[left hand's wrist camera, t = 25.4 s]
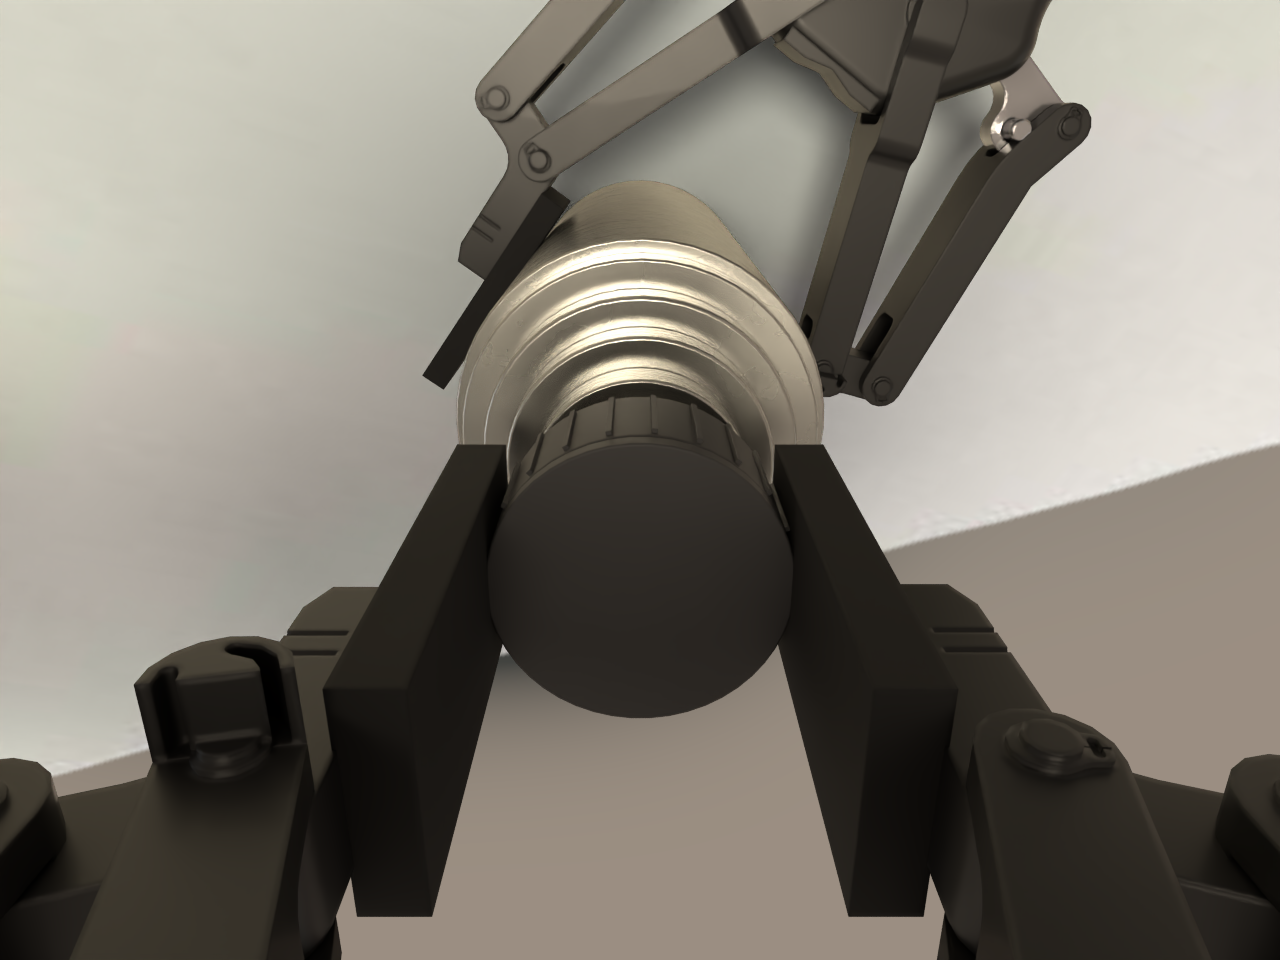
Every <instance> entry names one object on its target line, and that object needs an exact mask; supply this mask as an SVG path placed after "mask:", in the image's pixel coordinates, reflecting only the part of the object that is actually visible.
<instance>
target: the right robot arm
mask: <svg viewBox="0 0 1280 960" xmlns="http://www.w3.org/2000/svg"><path fill="white" fill-rule="evenodd" d="M624 1H625V0H550V1H549V2H548V3H547V4H546V6H545V7H544V8H543V9H542V10H541V11H540V13H539V14H538V15H537V16H536V17H535V18H534V20H533V21H532V22H531V23H530V24H529V25H528V27H527V28H526V29H525V30H524V31H523V32H522V34H521V35H520V36H519V37H518V38H517V39H516V41H515V42H514V43H513V44H512V45H511V46H510V48H509V49H508V50H507V51H506V52H505V53H504V55H503V56H502V57H501V58H500V59H499V60H498V62H497V63H496V64H495V65H494V66H493V67H492V69H491V70H490V71H489V72H488V73H487V74H486V76H485V77H484V78H483V79H482V80H481V81H480V83H479V85H478V87H477V89H476V94H475V101H476V105H477V108H478V109H479V111H480V112H481V114H482V115H483V116H484V117H486V118H487V119H488V121H489V122H490V123H491V125H492V126H493V128H494V129H495V131H496V132H497V134H498V135H499V137H500V138H501V139H502V141H503V143H504V145H505V146H506V149H507V153H508V167H507V170H506V172H505V175H504V176H503V178H502V180H501V181H500V183H499V184H498V186H497V187H496V189H495V191H494V192H493V194H492V195H491V197H490V198H489V200H488V202H487V203H486V205H485V206H484V208H483V209H482V211H481V213H480V214H479V216H478V217H477V219H476V220H475V222H474V224H473V225H472V227H471V228H470V230H469V232H468V233H467V235H466V236H465V238H464V239H463V241H462V243H461V247H460V252H459V258H458V262H460V263H461V264H462V265H464V266H465V267H467V268H468V269H470V270H471V271H472V272H474V273H475V274H477V275H478V276H480V277H481V278H483V279H484V282H483V284H482V285H481V287H480V288H479V290H478V291H477V293H476V294H475V296H474V297H473V299H472V300H471V302H470V303H469V305H468V306H467V308H466V310H465V311H464V313H463V314H462V316H461V317H460V319H459V320H458V322H457V323H456V325H455V326H454V328H453V329H452V331H451V332H450V334H449V336H448V337H447V339H446V340H445V342H444V343H443V345H442V346H441V348H440V349H439V351H438V352H437V354H436V355H435V357H434V358H433V360H432V362H431V363H430V365H429V366H428V368H427V369H426V371H425V372H424V374H423V375H422V376H424V377H425V378H427V379H428V380H430V381H431V382H433V383H434V384H436V385H437V386H439V387H440V388H442V389H443V390H444V388H445V387H446V386H447V384H448V383H449V381H450V380H451V379H452V377H453V376H454V374H455V373H456V372H457V370H458V369H459V367H460V366H461V364H462V363H463V361H464V360H465V358H466V355H467V353H468V351H469V348H470V346H471V344H472V342H473V339H474V337H475V335H476V333H477V331H478V330H479V328H480V327H481V325H482V323H483V322H484V320H485V319H486V317H487V315H488V314H489V312H490V311H491V310H492V308H493V307H494V306H495V304H496V303H497V302H498V300H499V299H500V298H501V297H502V295H503V294H504V293H505V291H506V290H507V289H508V287H509V286H510V285H511V283H512V282H513V281H514V279H515V278H516V277H517V275H518V274H519V273H520V272H521V270H522V269H523V268H524V266H525V265H526V264H527V262H528V261H529V260H530V258H531V257H532V256H533V254H534V253H535V252H536V251H537V249H538V248H539V247H540V245H541V244H542V243H543V241H544V240H545V238H546V237H547V235H548V234H549V232H550V231H551V230H552V228H553V227H554V225H555V224H556V222H557V221H558V219H559V218H560V216H561V215H562V213H563V212H564V210H565V209H566V207H567V206H568V204H569V203H570V200H569V199H567V198H566V197H564V196H563V195H562V194H560V193H559V192H558V191H556V190H555V189H554V188H552V187H551V186H552V184H553V183H554V181H555V180H556V178H557V176H558V175H559V174H560V173H561V172H563V171H565V170H566V169H568V168H569V167H571V166H572V165H574V164H575V163H577V162H578V161H580V160H581V159H583V158H584V157H586V156H587V155H589V154H591V153H592V152H594V151H595V150H597V149H598V148H600V147H601V146H603V145H604V144H606V143H607V142H609V141H610V140H612V139H614V138H615V137H617V136H618V135H620V134H621V133H623V132H624V131H626V130H627V129H629V128H630V127H632V126H633V125H635V124H636V123H638V122H640V121H641V120H643V119H644V118H646V117H647V116H649V115H650V114H652V113H653V112H655V111H656V110H658V109H659V108H661V107H663V106H664V105H666V104H667V103H669V102H670V101H672V100H673V99H675V98H676V97H678V96H679V95H681V94H682V93H684V92H686V91H687V90H689V89H690V88H692V87H693V86H695V85H696V84H698V83H699V82H701V81H702V80H704V79H705V78H707V77H708V76H710V75H712V74H713V73H715V72H716V71H718V70H719V69H721V68H722V67H724V66H725V65H727V64H728V63H730V62H731V61H733V60H735V59H736V58H738V57H739V56H741V55H742V54H744V53H745V52H747V51H748V50H750V49H751V48H753V47H755V46H756V45H758V44H759V43H761V42H762V41H764V40H765V39H767V38H768V37H770V36H771V35H772V37H773V39H774V40H775V43H774V46H775V47H776V48H777V49H779V50H780V51H781V52H782V53H783V54H785V55H786V56H787V57H788V58H789V59H791V60H792V61H793V62H795V63H797V64H800V65H802V66H804V67H807V68H809V69H811V70H814V71H816V72H818V73H819V74H820V75H821V76H822V78H823V79H824V81H825V82H826V84H827V85H828V87H829V88H830V90H831V91H832V93H833V94H834V96H835V97H836V98H838V99H839V100H840V101H841V102H842V103H844V104H845V105H846V106H847V107H848V108H850V109H851V110H852V111H853V112H854V113H858V115H857V118H856V122H855V125H854V129H853V132H852V136H851V140H850V153H849V158H848V161H847V165H846V168H845V171H844V175H843V178H842V181H841V185H840V188H839V191H838V195H837V198H836V202H835V205H834V208H833V212H832V215H831V218H830V222H829V225H828V228H827V232H826V235H825V239H824V242H823V245H822V249H821V252H820V255H819V259H818V262H817V265H816V269H815V272H814V276H813V279H812V282H811V286H810V289H809V292H808V296H807V299H806V302H805V306H804V309H803V313H802V316H801V319H800V323H799V326H800V328H801V329H802V331H803V333H804V334H805V336H806V338H807V340H808V343H809V345H810V347H811V350H812V352H813V355H814V357H815V360H816V363H817V367H818V371H819V375H820V379H821V383H822V392H823V397H831V396H834V395H837V394H838V393H844V394H848V395H852V396H855V397H859V398H862V399H866V400H867V401H868V402H869V403H870V404H872V405H876V406H886V405H888V404H890V403H892V402H894V400H895V399H896V398H897V397H898V396H899V395H900V393H901V391H902V390H903V388H904V387H905V385H906V384H907V382H908V380H909V379H910V377H911V376H912V374H913V372H914V371H915V369H916V368H917V366H918V365H919V363H920V361H921V360H922V358H923V357H924V355H925V353H926V352H927V350H928V349H929V347H930V346H931V344H932V342H933V341H934V339H935V338H936V336H937V334H938V333H939V331H940V330H941V328H942V327H943V325H944V323H945V322H946V320H947V319H948V317H949V315H950V314H951V312H952V311H953V309H954V308H955V306H956V304H957V303H958V301H959V300H960V298H961V297H962V295H963V293H964V292H965V290H966V289H967V287H968V285H969V284H970V282H971V281H972V279H973V278H974V276H975V274H976V273H977V271H978V270H979V268H980V266H981V265H982V263H983V262H984V260H985V259H986V257H987V255H988V254H989V252H990V251H991V249H992V247H993V246H994V244H995V243H996V241H997V240H998V238H999V236H1000V235H1001V233H1002V232H1003V230H1004V228H1005V227H1006V225H1007V224H1008V222H1009V221H1010V219H1011V217H1012V216H1013V214H1014V213H1015V211H1016V209H1017V208H1018V206H1019V205H1020V203H1021V202H1022V200H1023V198H1024V197H1025V195H1026V194H1027V192H1028V190H1029V189H1030V187H1031V186H1032V185H1033V184H1035V183H1036V182H1037V181H1038V180H1039V179H1040V178H1042V177H1043V176H1044V175H1045V174H1046V173H1047V172H1049V171H1050V170H1051V169H1052V168H1053V167H1054V166H1056V165H1057V164H1058V163H1059V162H1060V161H1061V160H1063V159H1064V158H1065V157H1066V156H1067V155H1068V154H1069V153H1071V152H1072V151H1073V150H1074V149H1075V148H1076V147H1078V146H1079V145H1080V144H1081V143H1082V142H1083V141H1084V140H1085V138H1086V137H1087V136H1088V134H1089V131H1090V128H1091V116H1090V114H1089V111H1088V110H1087V109H1086V108H1085V107H1084V106H1083V105H1081V104H1077V103H1064V102H1063V101H1062V100H1061V99H1060V98H1059V96H1058V95H1057V93H1056V92H1055V91H1054V89H1053V88H1052V86H1051V85H1050V84H1049V82H1048V81H1047V79H1046V78H1045V77H1044V75H1043V74H1042V72H1041V71H1040V70H1039V68H1038V67H1037V65H1036V64H1035V63H1034V61H1033V60H1032V58H1031V57H1030V55H1031V53H1032V52H1033V49H1034V47H1035V44H1036V41H1037V36H1038V32H1039V28H1040V25H1041V21H1042V19H1043V16H1044V14H1045V12H1046V10H1047V8H1048V6H1049V4H1050V2H1051V1H1052V0H735V1H734V2H733V3H731V4H730V5H728V6H727V7H726V8H724V9H723V10H722V11H720V12H719V13H717V14H716V15H714V16H713V17H711V18H710V19H708V20H707V21H705V22H704V23H702V24H701V25H699V26H698V27H696V28H695V29H693V30H692V31H690V32H689V33H687V34H686V35H684V36H683V37H681V38H680V39H678V40H677V41H675V42H674V43H672V44H671V45H669V46H668V47H666V48H665V49H663V50H662V51H660V52H659V53H657V54H656V55H654V56H653V57H651V58H650V59H648V60H647V61H645V62H644V63H642V64H641V65H639V66H638V67H636V68H635V69H633V70H632V71H630V72H629V73H627V74H626V75H624V76H623V77H621V78H620V79H618V80H617V81H615V82H614V83H612V84H611V85H609V86H608V87H606V88H605V89H603V90H602V91H600V92H599V93H597V94H596V95H594V96H593V97H591V98H590V99H588V100H587V101H585V102H584V103H582V104H581V105H579V106H578V107H576V108H575V109H573V110H572V111H570V112H569V113H567V114H566V115H564V116H563V117H561V118H560V119H558V120H557V121H555V122H554V123H552V124H551V125H548V124H547V122H546V121H545V119H544V118H543V116H542V115H541V113H540V112H539V110H538V109H537V107H536V106H535V104H534V103H535V102H536V101H537V100H538V99H539V98H540V96H541V95H542V94H543V93H544V92H545V91H546V90H547V88H548V87H549V86H550V85H551V84H552V83H553V82H554V81H555V79H556V78H557V77H558V76H559V75H560V74H561V73H562V72H563V70H564V69H565V68H566V67H567V66H568V65H569V64H570V62H571V61H572V60H573V59H574V58H575V57H576V56H577V55H578V53H579V52H580V51H581V50H582V49H583V48H584V47H585V46H586V44H587V43H588V42H589V41H590V40H591V39H592V38H593V36H594V35H595V34H596V33H597V32H598V31H599V30H600V29H601V27H602V26H603V25H604V24H605V23H606V22H607V21H608V20H609V18H610V17H611V16H612V15H613V14H614V13H615V12H616V10H617V9H618V8H619V7H620V6H621V5H622V4H623V3H624ZM987 85H990V86H991V88H992V91H993V104H992V106H991V109H990V111H989V112H988V114H987V115H986V117H985V118H984V119H983V121H982V124H981V126H980V138H981V141H982V143H983V144H984V145H983V146H982V147H981V148H980V149H979V150H978V151H977V152H976V154H975V155H974V156H973V157H972V158H971V160H970V161H969V162H968V163H967V165H966V166H965V168H964V169H963V171H962V172H961V174H960V175H959V176H958V178H957V180H956V181H955V183H954V185H953V186H952V188H951V190H950V191H949V193H948V195H947V196H946V198H945V200H944V201H943V203H942V205H941V206H940V208H939V210H938V211H937V213H936V215H935V216H934V218H933V220H932V221H931V223H930V225H929V226H928V228H927V230H926V231H925V233H924V235H923V236H922V238H921V240H920V241H919V243H918V245H917V246H916V248H915V250H914V251H913V253H912V255H911V256H910V258H909V260H908V261H907V263H906V265H905V266H904V268H903V269H902V271H901V273H900V274H899V276H898V278H897V279H896V281H895V283H894V284H893V286H892V288H891V289H890V291H889V293H888V294H887V296H886V298H885V299H884V301H883V303H882V304H881V306H880V308H879V309H878V311H877V313H876V314H875V316H874V318H873V319H872V321H871V323H870V324H869V326H868V328H867V329H866V331H865V333H864V334H863V336H862V338H861V339H860V341H859V343H858V344H857V346H856V348H852V343H853V340H854V337H855V334H856V331H857V328H858V325H859V322H860V319H861V315H862V312H863V309H864V306H865V303H866V300H867V297H868V294H869V291H870V288H871V284H872V281H873V278H874V275H875V272H876V269H877V266H878V263H879V260H880V256H881V253H882V250H883V247H884V244H885V241H886V238H887V235H888V232H889V228H890V225H891V222H892V219H893V216H894V213H895V210H896V207H897V204H898V201H899V197H900V194H901V191H902V188H903V185H904V182H905V179H906V176H907V173H908V170H909V168H910V166H911V164H912V163H913V162H914V160H915V159H916V157H917V155H918V153H919V151H920V148H921V146H922V143H923V140H924V136H925V133H926V130H927V127H928V124H929V121H930V118H931V115H932V112H933V109H934V106H935V103H937V102H940V101H943V100H946V99H949V98H952V97H955V96H958V95H960V94H963V93H966V92H969V91H972V90H975V89H978V88H981V87H984V86H987Z"/></svg>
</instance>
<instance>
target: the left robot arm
mask: <svg viewBox="0 0 1280 960" xmlns="http://www.w3.org/2000/svg"><path fill="white" fill-rule="evenodd" d="M773 484H774V486H775V489H776V492H777V495H778V497H779V500H780V503H781V506H782V508H783V511H784V514H785V517H786V519H787V522H788V525H789V528H790V531H788V532H786V533H787V536H788V538H789V541H790V544H791V549H792V553H793V558H794V563H793V579H792V593H791V607H790V618H789V621H788V624H787V626H786V629H785V632H784V634H783V635H782V637H781V639H780V641H779V643H778V646H779V650H780V654H781V658H782V662H783V666H784V669H785V673H786V677H787V681H788V685H789V689H790V693H791V696H792V700H793V704H794V708H795V712H796V716H797V720H798V723H799V727H800V731H801V735H802V739H803V743H804V747H805V750H806V754H807V758H808V762H809V766H810V770H811V774H812V778H813V781H814V785H815V789H816V793H817V797H818V800H819V804H820V808H821V812H822V816H823V820H824V824H825V828H826V831H827V835H828V839H829V843H830V847H831V851H832V855H833V858H834V862H835V866H836V870H837V874H838V878H839V882H840V886H841V889H842V893H843V897H844V901H845V905H846V909H847V913H848V916H849V917H923V916H924V910H925V904H926V897H927V891H928V884H929V878H930V874H931V877H932V879H933V882H934V884H935V887H936V890H937V892H938V895H939V898H940V900H941V903H942V905H943V908H944V911H945V914H944V920H943V926H942V932H941V938H940V944H939V950H938V956H937V960H1280V755H1272V754H1267V755H1261V756H1255V757H1249V758H1244V759H1243V760H1242V761H1241V762H1240V763H1238V764H1237V765H1236V766H1235V767H1233V768H1232V769H1231V772H1230V775H1229V778H1228V782H1227V785H1226V789H1225V792H1224V793H1219V792H1214V791H1209V790H1204V789H1200V788H1195V787H1190V786H1185V785H1180V784H1175V783H1171V782H1166V781H1161V780H1157V779H1153V778H1149V777H1146V776H1142V775H1138V774H1135V773H1132V771H1131V769H1130V766H1129V764H1128V762H1127V760H1126V759H1125V757H1124V756H1123V755H1122V753H1121V752H1120V751H1119V749H1118V748H1117V746H1116V745H1115V744H1114V743H1113V742H1112V741H1110V740H1109V739H1108V738H1106V737H1105V736H1104V735H1102V734H1101V733H1099V732H1098V731H1097V730H1095V729H1094V728H1093V727H1091V726H1088V725H1086V724H1084V723H1082V722H1079V721H1077V720H1075V719H1072V718H1070V717H1068V716H1066V715H1062V714H1057V713H1053V712H1051V710H1050V709H1049V707H1048V706H1047V704H1046V703H1045V702H1044V700H1043V699H1042V697H1041V696H1040V694H1039V693H1038V691H1037V690H1036V688H1035V687H1034V686H1033V684H1032V683H1031V681H1030V680H1029V678H1028V677H1027V675H1026V674H1025V672H1024V671H1023V670H1022V668H1021V667H1020V665H1019V664H1018V662H1017V661H1016V659H1015V658H1014V656H1013V655H1012V654H1011V653H1010V652H1007V646H1006V645H1005V643H1004V642H1003V641H1002V639H1001V638H1000V636H999V635H998V633H994V627H993V626H992V625H991V623H990V622H989V620H988V619H987V617H986V616H985V614H984V613H983V611H982V610H981V609H980V607H979V606H978V604H976V603H975V602H973V601H972V600H970V599H969V598H967V597H966V596H964V595H963V594H961V593H960V592H958V591H957V590H955V589H954V588H952V587H951V586H949V585H948V584H900V583H899V581H898V579H897V577H896V575H895V574H894V572H893V570H892V568H891V566H890V564H889V563H888V561H887V559H886V557H885V555H884V554H883V552H882V550H881V548H880V546H879V545H878V543H877V541H876V539H875V537H874V535H873V534H872V532H871V530H870V528H869V526H868V525H867V523H866V521H865V519H864V517H863V516H862V514H861V512H860V510H859V508H858V507H857V505H856V503H855V501H854V499H853V497H852V496H851V494H850V492H849V490H848V488H847V487H846V485H845V483H844V481H843V479H842V478H841V476H840V474H839V472H838V470H837V469H836V467H835V465H834V463H833V461H832V460H831V458H830V456H829V454H828V452H827V450H826V449H825V447H824V445H823V444H775V450H774V467H773ZM507 487H508V474H507V457H506V444H457V446H456V448H455V450H454V452H453V453H452V455H451V457H450V459H449V461H448V462H447V464H446V466H445V468H444V470H443V471H442V473H441V475H440V477H439V479H438V481H437V482H436V484H435V486H434V488H433V490H432V491H431V493H430V495H429V497H428V499H427V500H426V502H425V504H424V506H423V508H422V509H421V511H420V513H419V515H418V517H417V518H416V520H415V522H414V524H413V526H412V528H411V529H410V531H409V533H408V535H407V537H406V538H405V540H404V542H403V544H402V546H401V547H400V549H399V551H398V553H397V555H396V556H395V558H394V560H393V562H392V564H391V566H390V567H389V569H388V571H387V573H386V575H385V576H384V578H383V580H382V582H381V584H380V585H379V587H333V588H331V589H330V590H328V591H327V592H325V593H324V594H322V595H321V596H320V597H318V598H317V599H315V600H314V601H312V602H311V603H309V604H308V605H306V606H305V607H303V609H302V610H301V612H300V613H299V615H298V616H297V617H296V619H295V620H294V622H293V623H292V625H291V626H290V628H289V629H288V631H287V636H284V637H283V638H282V639H281V641H280V642H278V641H274V640H270V639H266V638H262V637H258V636H242V637H226V638H220V639H215V640H210V641H205V642H200V643H197V644H195V645H192V646H190V647H187V648H184V649H182V650H179V651H176V652H174V653H171V654H170V655H168V656H167V657H165V658H163V659H162V660H160V661H159V662H157V663H155V664H154V665H152V666H151V667H149V668H148V669H147V670H146V671H145V672H144V673H143V675H142V676H141V677H140V678H139V679H138V680H137V682H136V683H135V684H134V688H135V692H136V696H137V700H138V704H139V708H140V712H141V717H142V721H143V725H144V729H145V733H146V737H147V741H148V745H149V749H150V754H151V758H152V762H153V763H152V765H151V768H150V770H149V773H148V775H147V777H145V778H142V779H138V780H135V781H131V782H127V783H123V784H119V785H114V786H110V787H105V788H100V789H95V790H90V791H85V792H80V793H76V794H71V795H66V796H61V797H58V796H57V793H56V789H55V786H54V783H53V779H52V776H51V773H50V772H49V771H47V770H46V769H45V768H44V767H43V766H41V765H40V764H39V763H38V762H33V761H28V760H22V759H16V758H9V759H0V960H341V954H342V952H341V945H340V939H339V932H338V926H337V920H336V914H337V912H338V909H339V906H340V904H341V901H342V899H343V896H344V893H345V891H346V888H347V885H348V883H349V880H350V878H351V880H352V887H353V893H354V900H355V907H356V913H357V917H432V915H433V911H434V907H435V903H436V899H437V896H438V892H439V888H440V884H441V880H442V876H443V872H444V869H445V865H446V861H447V857H448V853H449V849H450V845H451V841H452V837H453V834H454V830H455V826H456V822H457V818H458V814H459V811H460V807H461V803H462V799H463V795H464V791H465V787H466V784H467V780H468V776H469V772H470V768H471V764H472V760H473V757H474V753H475V749H476V745H477V741H478V737H479V733H480V730H481V725H482V722H483V718H484V714H485V710H486V706H487V702H488V699H489V695H490V691H491V687H492V683H493V679H494V675H495V672H496V668H497V664H498V660H499V656H500V652H501V648H502V645H503V643H502V641H501V639H500V638H499V636H498V634H497V632H496V629H495V627H494V624H493V622H492V619H491V612H490V599H489V585H488V570H487V557H488V553H489V548H490V544H491V541H492V538H493V535H494V532H495V529H496V526H497V523H498V521H499V518H500V515H501V512H502V509H503V508H501V504H502V501H503V498H504V495H505V492H506V490H507Z"/></svg>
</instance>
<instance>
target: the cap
mask: <svg viewBox="0 0 1280 960" xmlns="http://www.w3.org/2000/svg"><path fill="white" fill-rule="evenodd" d="M501 508H503V509H502V512H501V515H500V518H499V521H498V523H497V526H496V529H495V532H494V535H493V538H492V541H491V544H490V548H489V553H488V557H487V570H488V585H489V599H490V612H491V619H492V622H493V624H494V627H495V629H496V632H497V634H498V636H499V638H500V639H501V641H502V643H503V645H504V647H505V649H506V650H507V651H508V653H509V654H510V655H511V657H512V658H513V659H514V661H515V662H516V663H517V664H518V666H519V667H520V668H521V669H522V670H523V671H524V672H525V673H526V674H527V675H528V676H529V677H530V678H532V679H533V680H534V681H535V682H536V683H538V684H539V685H540V686H541V687H543V688H544V689H546V690H547V691H549V692H551V693H552V694H554V695H555V696H557V697H558V698H560V699H563V700H565V701H567V702H569V703H571V704H573V705H575V706H578V707H581V708H584V709H587V710H590V711H593V712H596V713H601V714H606V715H610V716H617V717H626V718H654V717H663V716H671V715H675V714H680V713H684V712H688V711H691V710H694V709H697V708H700V707H703V706H706V705H708V704H710V703H712V702H714V701H716V700H718V699H720V698H722V697H724V696H726V695H727V694H729V693H730V692H732V691H733V690H735V689H737V688H738V687H739V686H741V685H742V684H743V683H744V682H746V681H747V680H748V679H749V678H750V677H752V676H753V675H754V674H755V673H756V672H757V671H758V669H759V668H760V667H761V666H762V665H763V664H764V663H765V662H766V660H767V659H768V658H769V656H770V655H771V654H772V652H773V651H774V650H775V648H776V646H777V645H778V643H779V641H780V639H781V637H782V635H783V634H784V632H785V629H786V626H787V624H788V621H789V618H790V607H791V593H792V579H793V563H794V558H793V553H792V549H791V544H790V541H789V538H788V536H787V533H786V532H788V531H790V528H789V525H788V522H787V519H786V517H785V514H784V511H783V508H782V506H781V503H780V500H779V497H778V495H777V492H776V489H775V486H774V484H773V483H772V484H769V482H768V479H767V477H766V474H765V471H764V469H763V466H762V463H761V460H760V457H759V454H758V452H757V451H756V450H754V451H753V452H752V451H751V449H750V448H749V447H748V445H747V444H746V443H745V442H744V441H743V440H742V439H741V438H740V437H739V436H738V435H737V434H736V433H735V432H734V431H733V429H732V425H731V424H729V423H728V422H727V423H726V425H725V424H724V423H723V422H721V421H720V420H718V419H717V418H715V417H713V416H711V415H709V414H708V413H706V412H704V411H702V410H700V409H697V405H695V404H692V403H691V406H690V405H687V404H684V403H680V402H676V401H672V400H668V399H661V398H656V395H651V397H628V398H620V399H615V397H609V401H605V402H601V403H597V404H594V405H591V406H589V407H586V408H584V409H581V410H579V411H577V412H576V410H575V409H574V410H572V411H570V415H569V416H568V417H566V418H564V419H562V420H561V421H560V422H558V423H557V424H556V425H554V426H553V427H552V428H550V429H549V430H548V431H547V432H546V433H545V434H543V433H542V432H541V433H540V434H539V435H538V437H537V440H536V442H535V444H534V445H533V446H532V448H531V449H530V450H529V451H528V453H527V454H526V455H525V457H524V459H523V460H522V462H521V464H520V463H519V462H517V463H516V465H515V467H514V470H513V473H512V476H511V478H510V481H509V484H508V487H507V490H506V492H505V495H504V498H503V501H502V504H501Z"/></svg>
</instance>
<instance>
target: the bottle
mask: <svg viewBox="0 0 1280 960" xmlns="http://www.w3.org/2000/svg"><path fill="white" fill-rule="evenodd" d="M651 395H656V398H661V399H668V400H672V401H676V402H680V403H684V404H687V405H690V406H691V403H692V404H695V405H697V409H700V410H702V411H704V412H706V413H708V414H709V415H711V416H713V417H715V418H717V419H718V420H720V421H721V422H723V423H724V424H725V425H726V423H727V422H728V423H729V424H731V425H732V429H733V431H734V432H735V433H736V434H737V435H738V436H739V437H740V438H741V439H742V440H743V441H744V442H745V443H746V444H747V445H748V447H749V448H750V449H751V451H752V452H753V451H754V450H756V451H757V452H758V454H759V457H760V460H761V463H762V466H763V469H764V471H765V474H766V477H767V479H768V482H769V484H772V483H773V467H774V450H775V444H821V441H822V435H823V428H824V401H823V392H822V383H821V379H820V375H819V371H818V367H817V363H816V360H815V357H814V355H813V352H812V350H811V347H810V345H809V343H808V340H807V338H806V336H805V334H804V333H803V331H802V329H801V328H800V326H799V324H798V322H797V321H796V319H795V317H794V316H793V315H792V313H791V312H790V311H789V309H788V308H787V307H786V306H785V304H784V303H783V302H782V300H781V299H780V298H779V296H778V295H777V294H776V292H775V291H774V290H773V288H772V287H771V286H770V285H769V283H768V282H767V281H766V279H765V278H764V277H763V275H762V274H761V273H760V271H759V270H758V269H757V268H756V266H755V265H754V264H753V262H752V261H751V260H750V258H749V257H748V256H747V254H746V253H745V252H744V251H743V249H742V248H741V247H740V245H739V244H738V243H737V241H736V240H735V239H734V237H733V236H732V235H731V233H730V232H729V231H728V230H727V228H726V227H725V226H724V224H723V223H722V222H721V221H720V219H719V218H718V217H717V215H716V214H715V213H714V212H713V211H712V210H711V209H710V208H709V207H708V206H707V205H705V204H704V203H703V202H701V201H700V200H699V199H697V198H696V197H695V196H693V195H691V194H689V193H687V192H686V191H684V190H682V189H679V188H676V187H674V186H671V185H668V184H664V183H659V182H654V181H642V180H641V181H626V182H621V183H616V184H612V185H609V186H606V187H603V188H601V189H599V190H597V191H595V192H593V193H591V194H589V195H587V196H586V197H584V198H583V199H581V200H580V201H578V202H577V203H576V204H575V205H574V206H573V207H571V208H570V209H569V210H568V211H567V212H566V213H565V214H564V216H563V217H562V218H561V219H560V220H559V222H558V223H557V224H556V225H555V227H554V228H553V229H552V231H551V232H550V233H549V235H548V236H547V237H546V239H545V240H544V241H543V243H542V244H541V245H540V247H539V248H538V249H537V251H536V252H535V253H534V254H533V256H532V257H531V258H530V260H529V261H528V262H527V264H526V265H525V266H524V268H523V269H522V270H521V272H520V273H519V274H518V275H517V277H516V278H515V279H514V281H513V282H512V283H511V285H510V286H509V287H508V289H507V290H506V291H505V293H504V294H503V295H502V297H501V298H500V299H499V300H498V302H497V303H496V304H495V306H494V307H493V308H492V310H491V311H490V312H489V314H488V315H487V317H486V319H485V320H484V322H483V323H482V325H481V327H480V328H479V330H478V331H477V333H476V335H475V337H474V339H473V342H472V344H471V346H470V348H469V351H468V353H467V355H466V359H465V362H464V365H463V369H462V372H461V376H460V381H459V388H458V395H457V431H458V438H459V444H506V457H507V474H508V484H509V481H510V478H511V476H512V473H513V470H514V467H515V465H516V463H517V462H519V463H520V464H521V462H522V460H523V459H524V457H525V455H526V454H527V453H528V451H529V450H530V449H531V448H532V446H533V445H534V444H535V442H536V440H537V437H538V435H539V434H540V433H541V432H542V433H543V434H545V433H546V432H547V431H548V430H549V429H550V428H552V427H553V426H554V425H556V424H557V423H558V422H560V421H561V420H562V419H564V418H566V417H568V416H569V415H570V411H572V410H574V409H575V410H576V412H577V411H579V410H581V409H584V408H586V407H589V406H591V405H594V404H597V403H601V402H605V401H609V397H615V399H620V398H628V397H651Z"/></svg>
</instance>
